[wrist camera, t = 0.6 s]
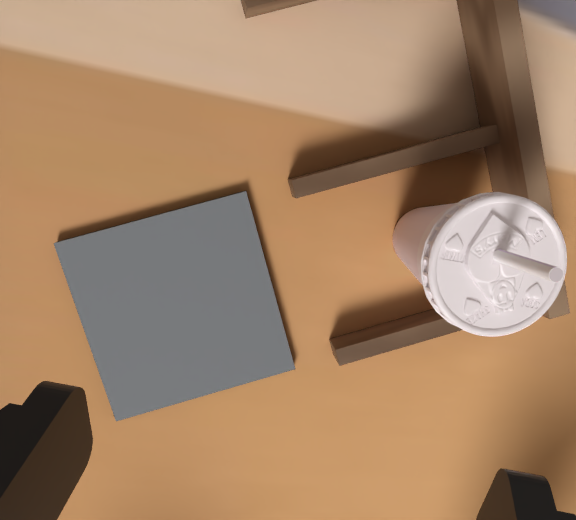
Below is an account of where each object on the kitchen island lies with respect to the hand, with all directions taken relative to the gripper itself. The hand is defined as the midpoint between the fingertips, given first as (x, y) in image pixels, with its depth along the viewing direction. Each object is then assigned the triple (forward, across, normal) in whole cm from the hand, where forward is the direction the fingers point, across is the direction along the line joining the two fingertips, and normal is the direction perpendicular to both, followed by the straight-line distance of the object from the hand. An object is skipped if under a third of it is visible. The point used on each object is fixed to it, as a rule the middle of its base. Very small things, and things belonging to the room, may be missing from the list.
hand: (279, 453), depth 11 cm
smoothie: (+23, -5, +8) cm, 25 cm away
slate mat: (+18, +8, +12) cm, 23 cm away
